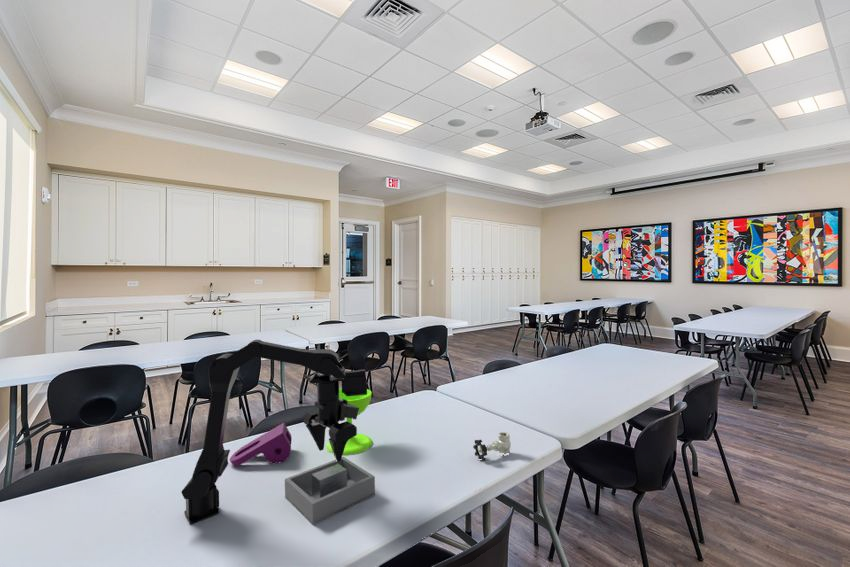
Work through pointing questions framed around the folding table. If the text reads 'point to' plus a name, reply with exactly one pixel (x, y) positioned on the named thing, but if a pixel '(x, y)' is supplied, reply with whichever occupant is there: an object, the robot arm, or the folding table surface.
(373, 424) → the folding table surface
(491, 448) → the valve
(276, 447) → the mounting bracket
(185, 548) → the folding table surface
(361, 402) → the wineglass
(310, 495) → the open box
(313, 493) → the grey bevelled block
